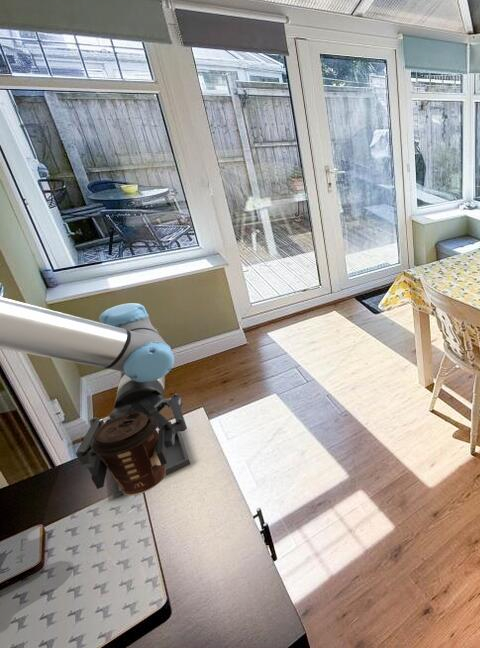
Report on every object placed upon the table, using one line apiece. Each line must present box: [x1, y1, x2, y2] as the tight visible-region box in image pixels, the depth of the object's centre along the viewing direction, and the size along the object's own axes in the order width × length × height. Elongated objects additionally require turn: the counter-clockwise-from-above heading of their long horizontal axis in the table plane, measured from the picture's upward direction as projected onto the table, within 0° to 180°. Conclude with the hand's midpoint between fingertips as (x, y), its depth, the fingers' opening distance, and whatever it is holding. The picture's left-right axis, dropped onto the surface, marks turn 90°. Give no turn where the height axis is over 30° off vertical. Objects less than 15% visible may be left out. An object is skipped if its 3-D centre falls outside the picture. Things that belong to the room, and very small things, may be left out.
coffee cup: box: [92, 412, 166, 496], centre depth 73 cm, size 9×8×13 cm
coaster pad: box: [117, 431, 191, 497], centre depth 91 cm, size 12×12×2 cm
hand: (130, 470), depth 69 cm, fingers closed on coffee cup, 8 cm apart
